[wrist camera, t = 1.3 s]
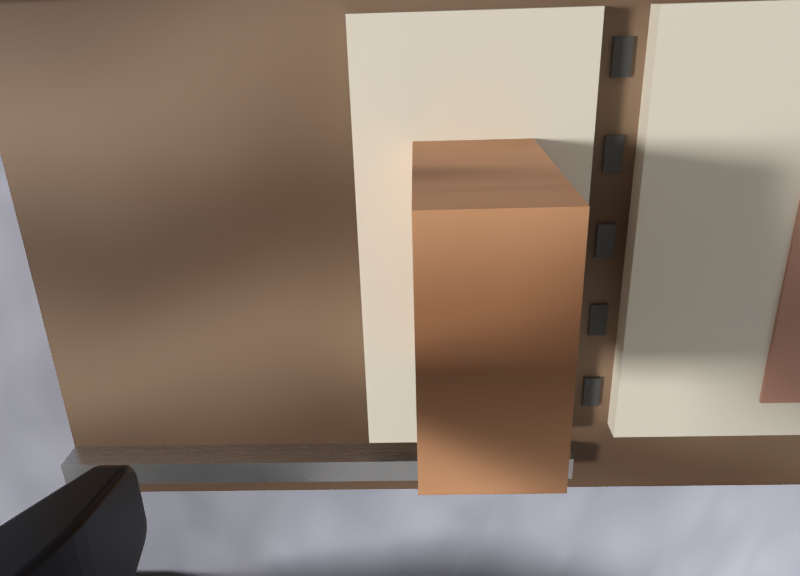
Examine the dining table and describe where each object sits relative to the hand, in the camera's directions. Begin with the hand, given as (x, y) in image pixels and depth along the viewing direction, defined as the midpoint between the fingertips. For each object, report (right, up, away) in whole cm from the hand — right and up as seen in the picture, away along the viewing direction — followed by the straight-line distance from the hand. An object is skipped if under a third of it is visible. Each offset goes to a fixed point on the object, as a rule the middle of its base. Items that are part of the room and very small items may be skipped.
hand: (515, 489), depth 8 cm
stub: (0, +3, +8) cm, 9 cm away
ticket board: (+2, +4, +9) cm, 10 cm away
